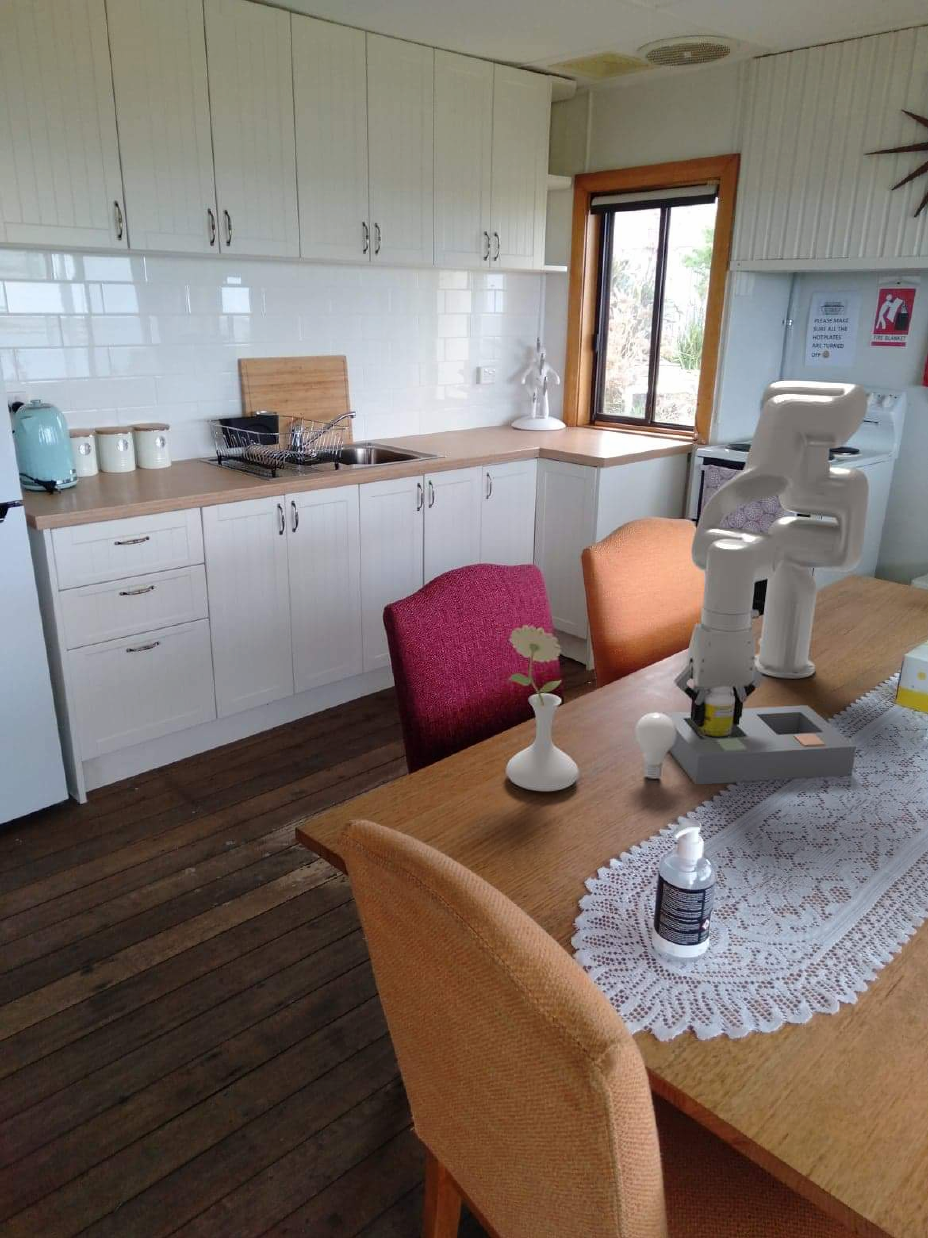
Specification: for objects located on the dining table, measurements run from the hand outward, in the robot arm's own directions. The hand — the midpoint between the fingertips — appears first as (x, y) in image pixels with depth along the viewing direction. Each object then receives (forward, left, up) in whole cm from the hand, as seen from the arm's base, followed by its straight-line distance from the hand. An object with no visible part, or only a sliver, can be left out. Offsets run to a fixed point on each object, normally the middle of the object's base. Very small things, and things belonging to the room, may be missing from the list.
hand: (715, 721), depth 152 cm
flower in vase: (+5, -31, -6) cm, 32 cm away
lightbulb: (+7, -13, -6) cm, 16 cm away
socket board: (+2, +6, -6) cm, 9 cm away
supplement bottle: (0, 0, -3) cm, 3 cm away
